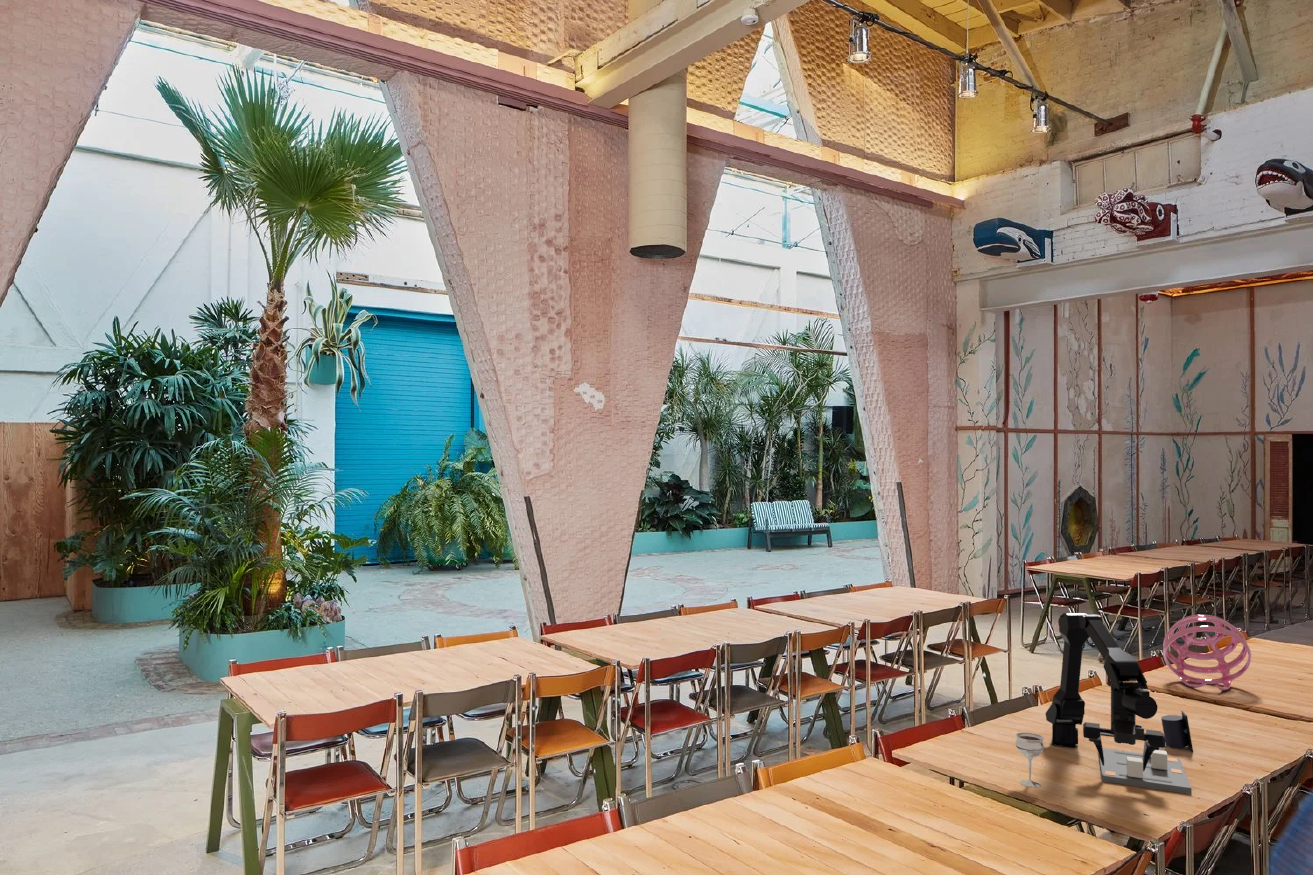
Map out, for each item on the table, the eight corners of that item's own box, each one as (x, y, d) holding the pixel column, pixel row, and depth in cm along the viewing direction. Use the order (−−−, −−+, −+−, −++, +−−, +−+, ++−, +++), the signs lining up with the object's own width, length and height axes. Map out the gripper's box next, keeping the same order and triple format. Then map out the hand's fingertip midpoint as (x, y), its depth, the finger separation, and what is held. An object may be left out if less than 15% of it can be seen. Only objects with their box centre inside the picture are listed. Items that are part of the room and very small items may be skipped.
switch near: (1127, 775, 228) (1127, 760, 228) (1126, 771, 232) (1126, 756, 232) (1143, 778, 227) (1143, 762, 227) (1141, 773, 230) (1141, 758, 230)
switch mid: (1152, 767, 235) (1152, 752, 235) (1151, 763, 238) (1151, 748, 238) (1167, 769, 233) (1167, 754, 233) (1166, 765, 236) (1165, 750, 237)
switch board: (1102, 781, 230) (1102, 774, 230) (1098, 752, 253) (1098, 747, 253) (1191, 793, 222) (1191, 787, 222) (1179, 763, 244) (1179, 757, 244)
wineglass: (1031, 789, 223) (1031, 741, 223) (1009, 781, 229) (1009, 734, 229) (1050, 785, 226) (1050, 738, 227) (1028, 777, 232) (1027, 731, 233)
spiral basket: (1247, 647, 308) (1234, 594, 329) (1158, 656, 323) (1150, 605, 344) (1265, 703, 318) (1251, 649, 339) (1178, 710, 333) (1169, 657, 354)
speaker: (1196, 746, 259) (1191, 710, 260) (1193, 752, 255) (1188, 715, 255) (1167, 743, 264) (1162, 708, 264) (1163, 749, 259) (1159, 713, 260)
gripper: (1084, 710, 227) (1084, 771, 227) (1167, 720, 220) (1167, 783, 219) (1083, 700, 237) (1082, 758, 237) (1162, 709, 230) (1162, 769, 229)
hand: (1123, 767), depth 230 cm, fingers open, 9 cm apart
